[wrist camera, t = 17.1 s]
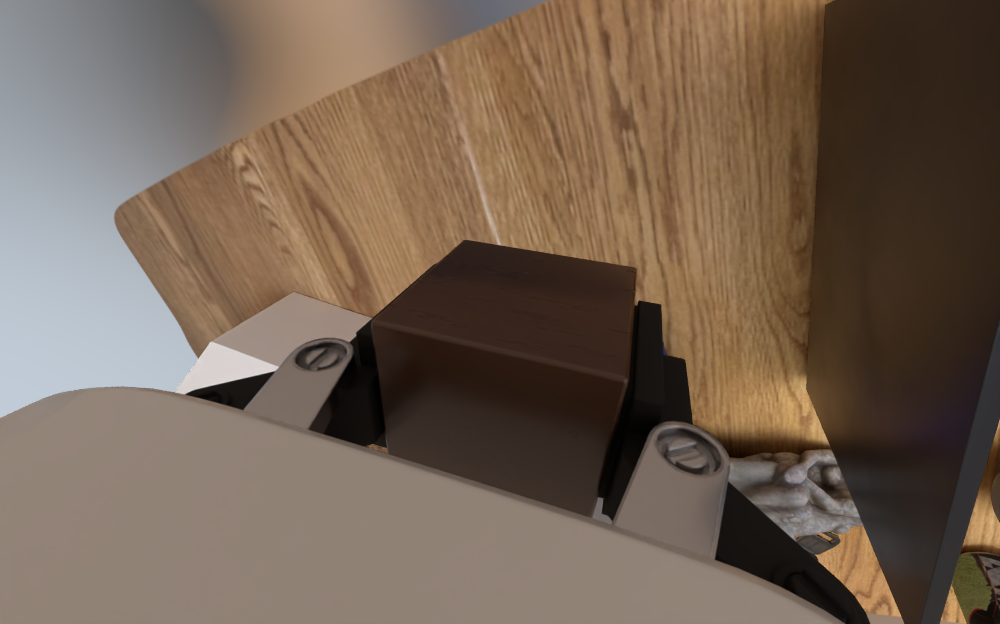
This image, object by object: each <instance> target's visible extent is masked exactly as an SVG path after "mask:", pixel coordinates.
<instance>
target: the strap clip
mask: <svg viewBox="0 0 1000 624" xmlns="http://www.w3.org/2000/svg"><path fill="white" fill-rule="evenodd" d="M823 534H825V535H827V536H829V537H831V538H833V539H834V540H832V541H830V542H829V541H827V540H825V539H823V538H821V537H819V536H817V535H806V536H800V537H799V538H797V539H796V542H797V543H798V544H799V545H800V546H801V547H802V548H804V549H805V550H806V551H807V552H808V553H809V554H810V555H811V556H813V557H814V558H815V559H816V560H817V561H818V559H817V557H816V556H815V554H821V553H823V552H825V551H827V550H829V549H831V548H833V547H835V546H836V545H838V544H839V543H840V539H839V538H838V537H836V536H834V535H832V534H831V533H829V532H823Z"/></svg>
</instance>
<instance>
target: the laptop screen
mask: <svg viewBox="0 0 1000 624" xmlns="http://www.w3.org/2000/svg"><path fill="white" fill-rule="evenodd" d="M806 390H807V392H808V394H809V397H810V399H811V402H812V404H813V406H814V409H815V411H816V414H817V416H818V418H819V421H820V423H821V425H822V428H823V430H824V433H825V435H826V437H827V440H828V442H829V445H830V447H831V449H832V452H833V454H834V456H835V459H836V461H837V464H838V466H839V468H840V471H841V473H842V476H843V478H844V480H845V483H846V485H847V488H848V490H849V492H850V495H851V497H852V499H853V502H854V504H855V507H856V509H857V511H858V514H859V516H860V519H861V521H862V523H863V526H864V528H865V530H866V533H867V535H868V538H869V540H870V542H871V545H872V547H873V550H874V552H875V554H876V557H877V559H878V562H879V564H880V566H881V569H882V571H883V573H884V576H885V578H886V581H887V583H888V585H889V588H890V590H891V593H892V595H893V597H894V600H895V602H896V604H897V607H898V609H899V612H900V614H901V616H902V619H903V621H904V624H940V621H941V617H942V614H943V610H944V607H945V604H946V600H947V597H948V593H949V590H950V586H951V583H952V580H953V576H954V573H955V569H956V566H957V563H958V559H959V556H960V552H961V549H962V546H963V542H964V539H965V535H966V532H967V529H968V525H969V522H970V518H971V515H972V512H973V508H974V505H975V501H976V498H977V495H978V491H979V488H980V484H981V481H982V477H983V474H984V471H985V467H986V464H987V460H988V457H989V454H990V450H991V447H992V443H993V440H994V437H995V433H996V430H997V426H998V423H999V420H1000V0H835V1H833V2H831V3H828V4H826V5H825V21H824V41H823V61H822V82H821V102H820V122H819V142H818V162H817V182H816V202H815V222H814V242H813V262H812V282H811V302H810V322H809V342H808V363H807V383H806Z"/></svg>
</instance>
